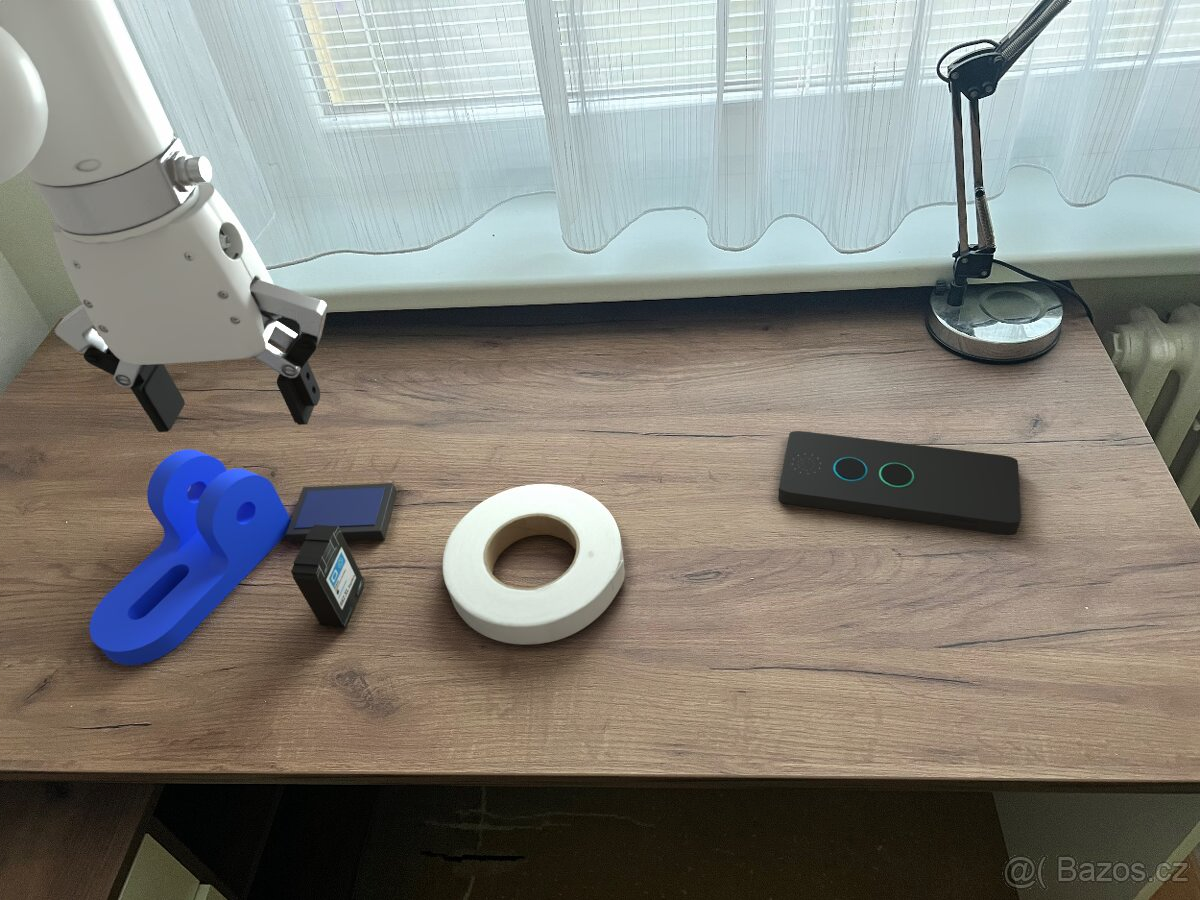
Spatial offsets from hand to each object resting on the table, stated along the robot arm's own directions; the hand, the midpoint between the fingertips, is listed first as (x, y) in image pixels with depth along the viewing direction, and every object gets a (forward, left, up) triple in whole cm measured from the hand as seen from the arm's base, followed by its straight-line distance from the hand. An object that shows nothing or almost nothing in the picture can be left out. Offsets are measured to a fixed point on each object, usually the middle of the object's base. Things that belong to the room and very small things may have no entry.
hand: (240, 414), depth 60 cm
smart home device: (+49, +11, -22) cm, 55 cm away
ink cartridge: (+1, 0, -22) cm, 23 cm away
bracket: (-14, +3, -22) cm, 27 cm away
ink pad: (-2, +10, -22) cm, 25 cm away
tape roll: (+17, +3, -22) cm, 28 cm away
